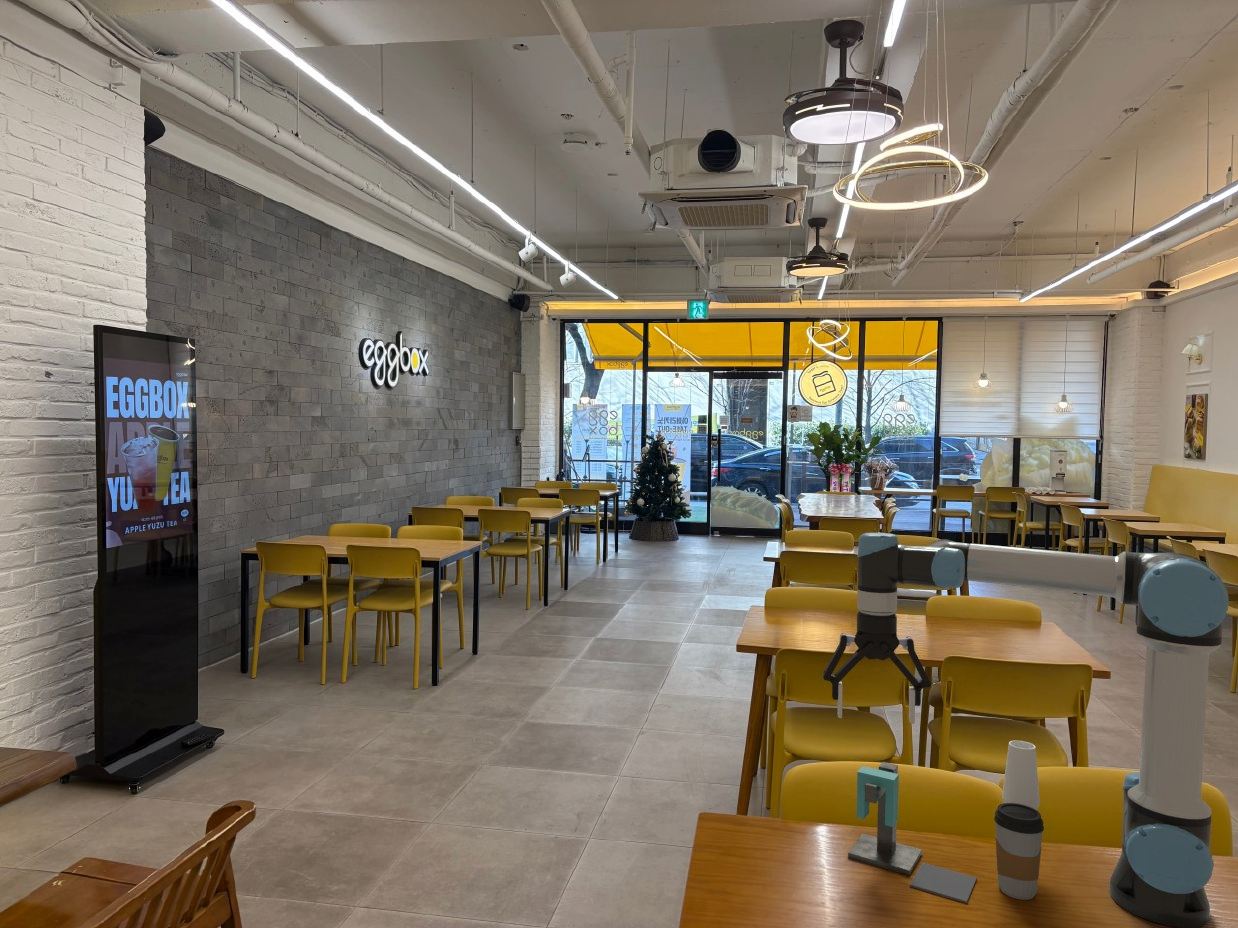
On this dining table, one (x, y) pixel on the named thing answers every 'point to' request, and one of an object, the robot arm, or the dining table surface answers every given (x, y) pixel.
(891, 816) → the u-shaped block
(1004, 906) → the dining table surface
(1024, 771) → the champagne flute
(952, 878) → the mat
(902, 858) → the stand
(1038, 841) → the coffee cup
